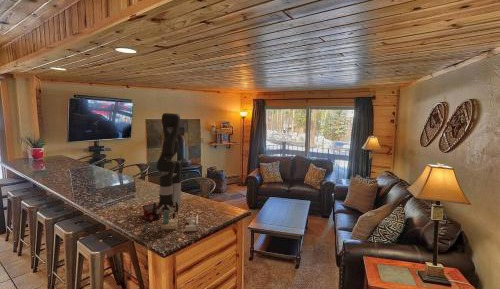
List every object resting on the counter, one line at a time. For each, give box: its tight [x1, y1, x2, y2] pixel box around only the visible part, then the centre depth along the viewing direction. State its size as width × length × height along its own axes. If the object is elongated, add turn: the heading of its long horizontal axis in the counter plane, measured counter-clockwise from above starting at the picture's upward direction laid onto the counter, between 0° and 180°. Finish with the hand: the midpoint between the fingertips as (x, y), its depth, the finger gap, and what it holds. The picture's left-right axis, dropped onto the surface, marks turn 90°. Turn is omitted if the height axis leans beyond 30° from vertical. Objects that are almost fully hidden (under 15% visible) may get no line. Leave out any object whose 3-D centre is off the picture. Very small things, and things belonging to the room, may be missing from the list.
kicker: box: [160, 209, 179, 229], centre depth 160 cm, size 8×9×9 cm
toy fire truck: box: [142, 203, 163, 223], centre depth 171 cm, size 7×12×10 cm, turn 139°
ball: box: [188, 220, 196, 226], centre depth 162 cm, size 4×4×4 cm
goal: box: [185, 214, 199, 232], centre depth 162 cm, size 13×7×4 cm, turn 10°
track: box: [143, 220, 181, 232], centre depth 159 cm, size 9×20×2 cm, turn 100°
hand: (165, 218), depth 159 cm, fingers open, 8 cm apart
